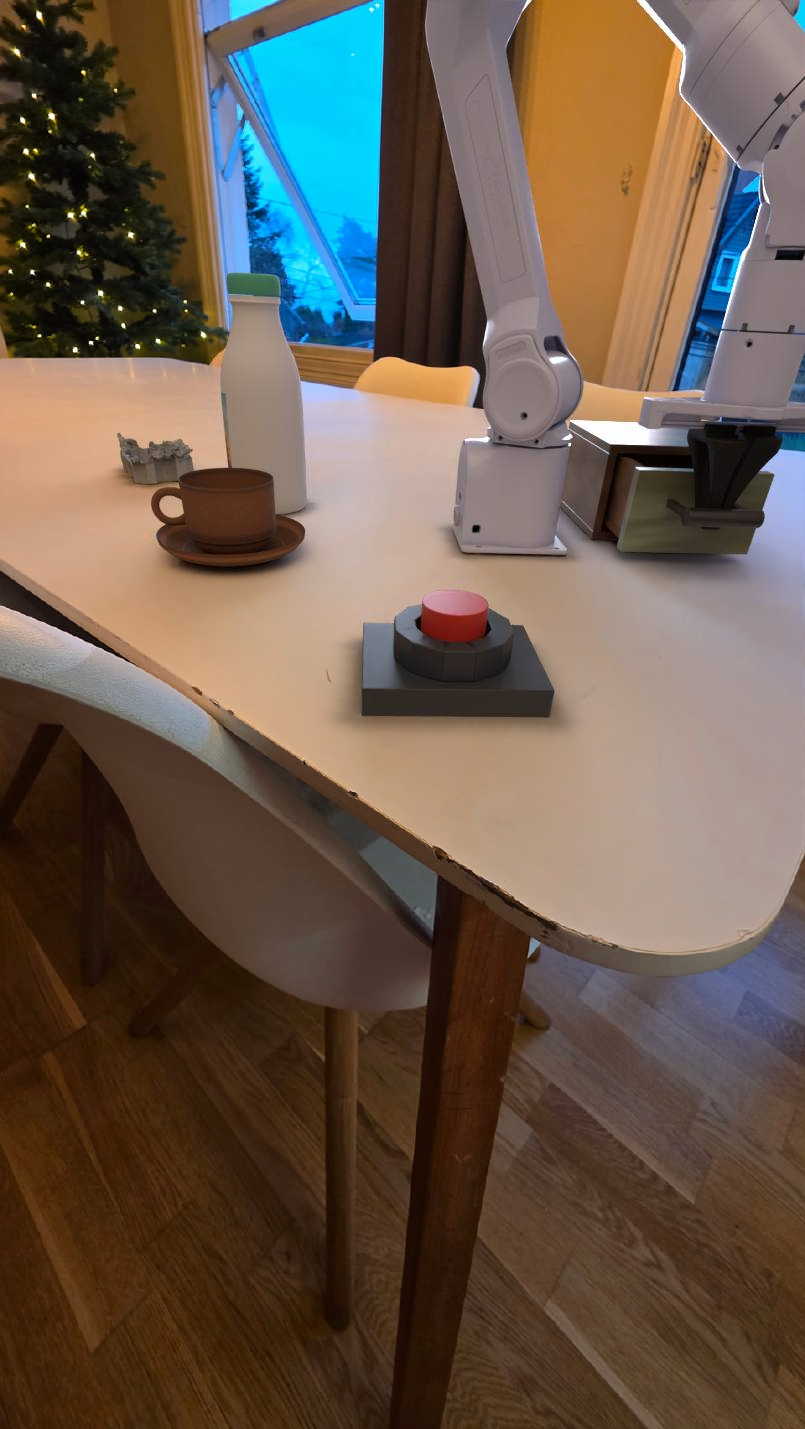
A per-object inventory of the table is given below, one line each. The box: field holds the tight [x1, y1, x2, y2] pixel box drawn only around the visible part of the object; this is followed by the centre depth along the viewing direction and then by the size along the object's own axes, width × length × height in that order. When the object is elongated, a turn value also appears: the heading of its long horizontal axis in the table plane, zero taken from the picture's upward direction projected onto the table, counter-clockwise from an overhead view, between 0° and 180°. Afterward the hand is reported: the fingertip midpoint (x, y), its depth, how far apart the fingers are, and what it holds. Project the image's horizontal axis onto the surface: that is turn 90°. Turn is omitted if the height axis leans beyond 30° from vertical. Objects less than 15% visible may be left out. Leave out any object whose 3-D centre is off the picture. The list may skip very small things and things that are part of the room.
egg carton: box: [116, 432, 195, 485], centre depth 74 cm, size 11×8×4 cm
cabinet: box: [560, 420, 691, 541], centre depth 64 cm, size 14×13×9 cm
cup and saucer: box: [150, 467, 306, 567], centre depth 51 cm, size 12×12×6 cm
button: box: [421, 589, 490, 642], centre depth 34 cm, size 4×4×2 cm
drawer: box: [603, 454, 775, 556], centre depth 56 cm, size 17×11×7 cm, turn 2°
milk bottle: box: [219, 272, 308, 515], centre depth 60 cm, size 8×8×20 cm
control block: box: [361, 603, 555, 718], centre depth 35 cm, size 10×8×4 cm
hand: (706, 526), depth 51 cm, fingers closed, pressing on drawer
